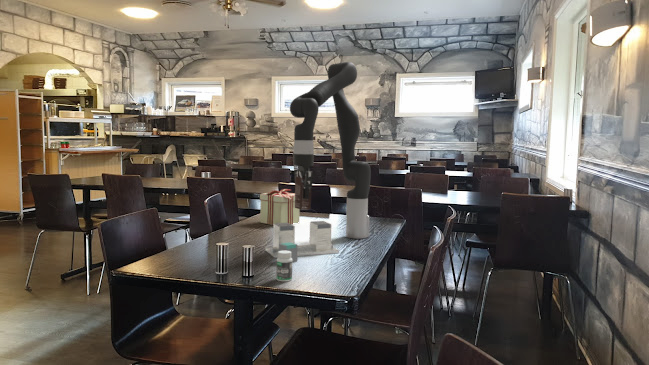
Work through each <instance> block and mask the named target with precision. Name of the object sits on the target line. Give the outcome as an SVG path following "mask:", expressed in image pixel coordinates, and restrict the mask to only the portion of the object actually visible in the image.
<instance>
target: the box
mask: <svg viewBox="0 0 649 365" xmlns="http://www.w3.org/2000/svg"><path fill="white" fill-rule="evenodd" d="M302 179H303V180H305V177H302V178H301V177H298V176H296V180H295V179H294V186H295V188H294V193H295V208H297V209H300V211H307V210H311V209H312V207H311V204H312V187H310V189H309V199H303V183H302ZM307 184H308V183H307Z"/></svg>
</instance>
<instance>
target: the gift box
mask: <svg viewBox="0 0 649 365" xmlns="http://www.w3.org/2000/svg"><path fill="white" fill-rule="evenodd" d="M290 191H291V192H290ZM259 200H260V213H259V215H260V218H259V222H260V223H261V224H267V225H271V226H273V224H274V223H289V224H292V225H294V224H293V223H298V222H299V223H300V211H301V210H300V209H297V208H295V192H294V193H293V192H292V189H288V188H282V189H281V190H272V191H269V192H266V193H265V192H264V193H260V194H259ZM299 223H298V224H299Z"/></svg>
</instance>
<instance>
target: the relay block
mask: <svg viewBox="0 0 649 365" xmlns="http://www.w3.org/2000/svg"><path fill="white" fill-rule="evenodd" d="M297 245H298V243H290V242H288V243H281V244H279V251H283V250H286V251H291V258H292V260H293V261H292V263H298V256H297Z"/></svg>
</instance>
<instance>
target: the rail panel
mask: <svg viewBox="0 0 649 365" xmlns="http://www.w3.org/2000/svg"><path fill="white" fill-rule="evenodd" d="M272 226H273V230H272V231H273V232H272V233H273V235H272V236H273V237H272V238H273V240H272V242H273V244H272V246H270V247H266V248H265V252H266V253H268V254H269V255H270V256H272V257H273V258H275V259H277V258H278V251H279V244H281V243H288V242H290V243H295V242H296V240H295V238H296V237H295V236H296V232H295V231H296V226H295V225H294V224H292V225H291V224H289V223H274V224H273V225H272ZM295 244H296V243H295ZM339 253H340V249H337V248H336V247H334V244H332V223H329V222H327V221H324V220H317V221H314V220H313V221H310V222H309V244H299V245H297V257H303V256H304V257H305V256H317V255H328V254H329V255H330V254H339Z"/></svg>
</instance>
